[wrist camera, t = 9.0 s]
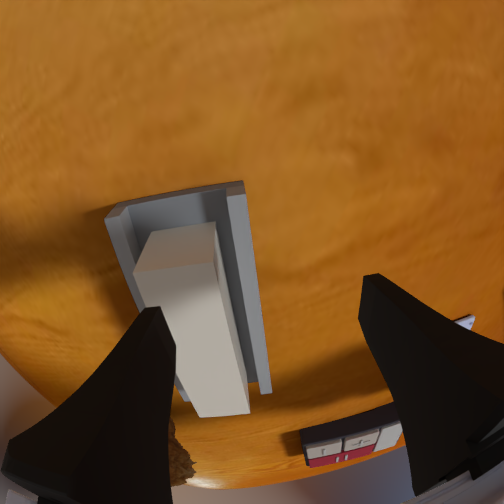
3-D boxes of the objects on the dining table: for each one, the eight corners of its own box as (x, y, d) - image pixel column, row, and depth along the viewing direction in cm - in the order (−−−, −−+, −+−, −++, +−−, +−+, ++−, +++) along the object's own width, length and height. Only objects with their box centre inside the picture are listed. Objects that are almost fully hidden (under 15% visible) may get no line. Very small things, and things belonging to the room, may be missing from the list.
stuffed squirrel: (89, 417, 31) (72, 501, 19) (133, 381, 26) (114, 500, 15) (150, 444, 35) (145, 522, 23) (209, 415, 30) (212, 520, 19)
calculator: (302, 450, 31) (412, 420, 30) (298, 423, 35) (403, 396, 34) (307, 470, 37) (397, 447, 35) (303, 448, 40) (390, 426, 39)
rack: (268, 371, 26) (272, 393, 24) (185, 380, 26) (184, 401, 24) (243, 180, 17) (245, 194, 15) (117, 203, 17) (103, 219, 15)
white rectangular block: (246, 369, 24) (250, 413, 21) (201, 374, 24) (200, 417, 21) (215, 221, 17) (213, 261, 14) (151, 231, 17) (132, 273, 14)
